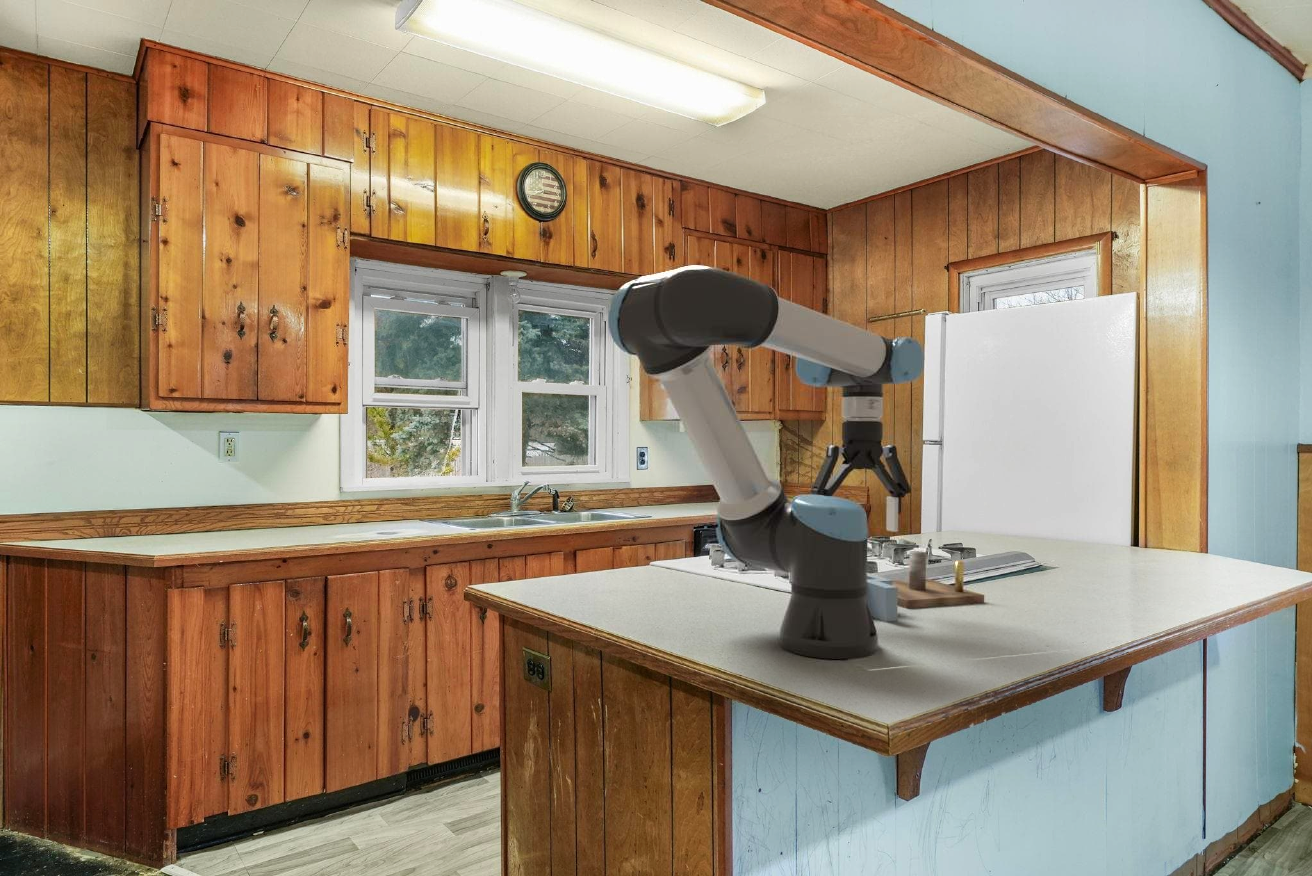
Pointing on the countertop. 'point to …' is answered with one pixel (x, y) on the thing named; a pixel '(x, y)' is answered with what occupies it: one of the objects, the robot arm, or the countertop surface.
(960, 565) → the dowel
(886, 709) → the countertop surface
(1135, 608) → the countertop surface
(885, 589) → the pale blue notched block
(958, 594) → the post base
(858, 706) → the countertop surface
